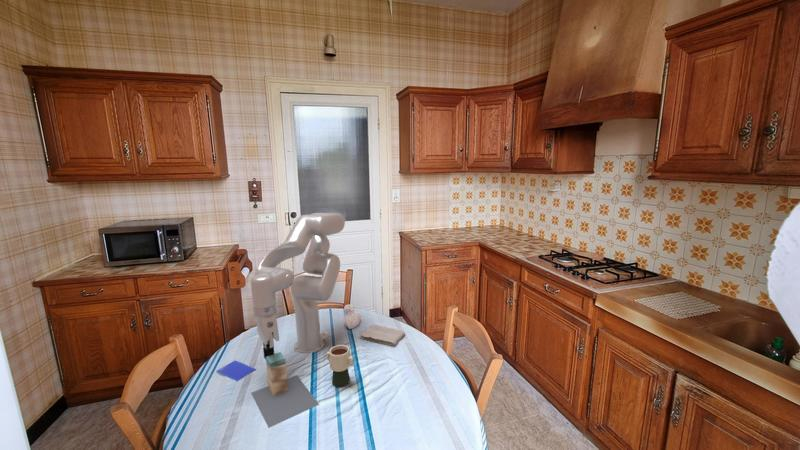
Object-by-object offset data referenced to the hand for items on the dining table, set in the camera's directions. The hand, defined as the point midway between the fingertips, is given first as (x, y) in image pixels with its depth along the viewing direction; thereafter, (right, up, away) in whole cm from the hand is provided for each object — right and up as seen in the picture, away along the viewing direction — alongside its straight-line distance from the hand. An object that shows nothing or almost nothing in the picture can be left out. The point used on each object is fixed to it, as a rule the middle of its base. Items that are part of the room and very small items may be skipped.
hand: (269, 357), depth 123 cm
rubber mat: (+8, -11, -9) cm, 16 cm away
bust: (+24, -1, +43) cm, 49 cm away
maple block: (+5, -9, -4) cm, 11 cm away
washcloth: (+39, -4, +31) cm, 50 cm away
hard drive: (-15, -9, +7) cm, 19 cm away
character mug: (+26, -9, -1) cm, 28 cm away
